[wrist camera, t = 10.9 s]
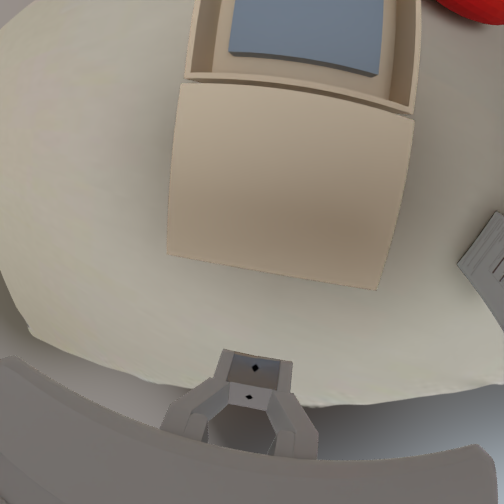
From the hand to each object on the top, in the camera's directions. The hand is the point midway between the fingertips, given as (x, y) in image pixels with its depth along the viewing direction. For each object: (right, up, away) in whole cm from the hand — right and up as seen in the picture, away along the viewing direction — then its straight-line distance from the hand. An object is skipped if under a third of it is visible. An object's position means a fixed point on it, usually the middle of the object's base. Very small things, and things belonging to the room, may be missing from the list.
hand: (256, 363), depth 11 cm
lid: (+2, +10, +8) cm, 13 cm away
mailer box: (+5, +26, +8) cm, 27 cm away
